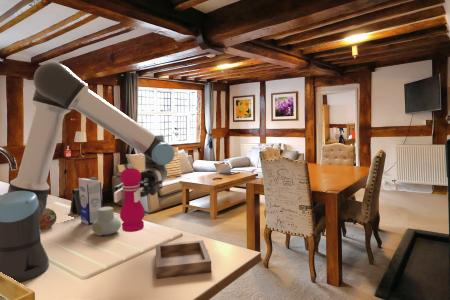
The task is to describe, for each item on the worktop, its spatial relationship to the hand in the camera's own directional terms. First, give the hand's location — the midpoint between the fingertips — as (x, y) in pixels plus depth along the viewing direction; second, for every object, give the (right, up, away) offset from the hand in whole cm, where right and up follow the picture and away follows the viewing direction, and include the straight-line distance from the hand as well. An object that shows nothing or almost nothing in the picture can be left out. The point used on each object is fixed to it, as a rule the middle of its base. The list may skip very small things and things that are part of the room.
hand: (125, 197), depth 89 cm
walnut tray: (+14, -22, +11) cm, 29 cm away
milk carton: (-30, -18, +50) cm, 61 cm away
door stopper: (-42, -17, +64) cm, 78 cm away
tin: (-50, -20, +41) cm, 68 cm away
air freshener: (-19, -20, +37) cm, 46 cm away
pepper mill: (0, -10, +7) cm, 12 cm away
